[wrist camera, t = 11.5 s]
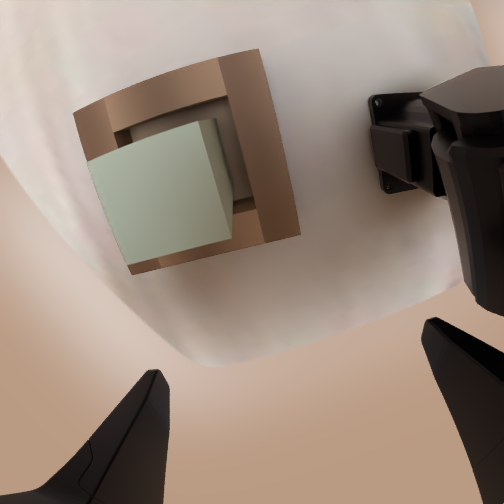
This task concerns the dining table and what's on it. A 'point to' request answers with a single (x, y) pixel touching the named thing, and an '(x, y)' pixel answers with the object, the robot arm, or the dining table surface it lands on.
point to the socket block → (232, 135)
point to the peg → (166, 191)
